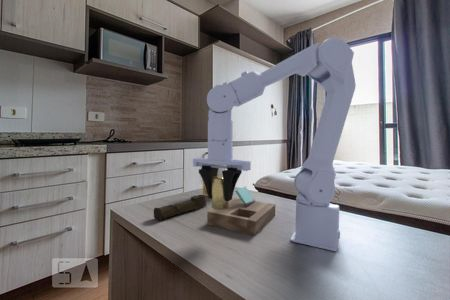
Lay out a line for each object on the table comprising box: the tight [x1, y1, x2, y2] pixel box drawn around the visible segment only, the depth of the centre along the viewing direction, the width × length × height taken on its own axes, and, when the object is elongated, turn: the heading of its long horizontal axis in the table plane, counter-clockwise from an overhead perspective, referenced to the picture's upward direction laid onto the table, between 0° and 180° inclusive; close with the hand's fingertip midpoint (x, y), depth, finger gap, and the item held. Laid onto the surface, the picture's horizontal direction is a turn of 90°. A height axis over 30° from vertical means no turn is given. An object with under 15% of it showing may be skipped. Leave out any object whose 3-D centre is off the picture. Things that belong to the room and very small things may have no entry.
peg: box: [211, 176, 229, 210], centre depth 52 cm, size 4×4×7 cm
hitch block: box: [206, 197, 276, 236], centre depth 64 cm, size 14×16×4 cm
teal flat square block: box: [234, 185, 256, 207], centre depth 67 cm, size 6×6×1 cm
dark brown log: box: [153, 194, 207, 222], centre depth 69 cm, size 19×4×5 cm, turn 134°
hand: (220, 198), depth 52 cm, fingers closed on peg, 4 cm apart
